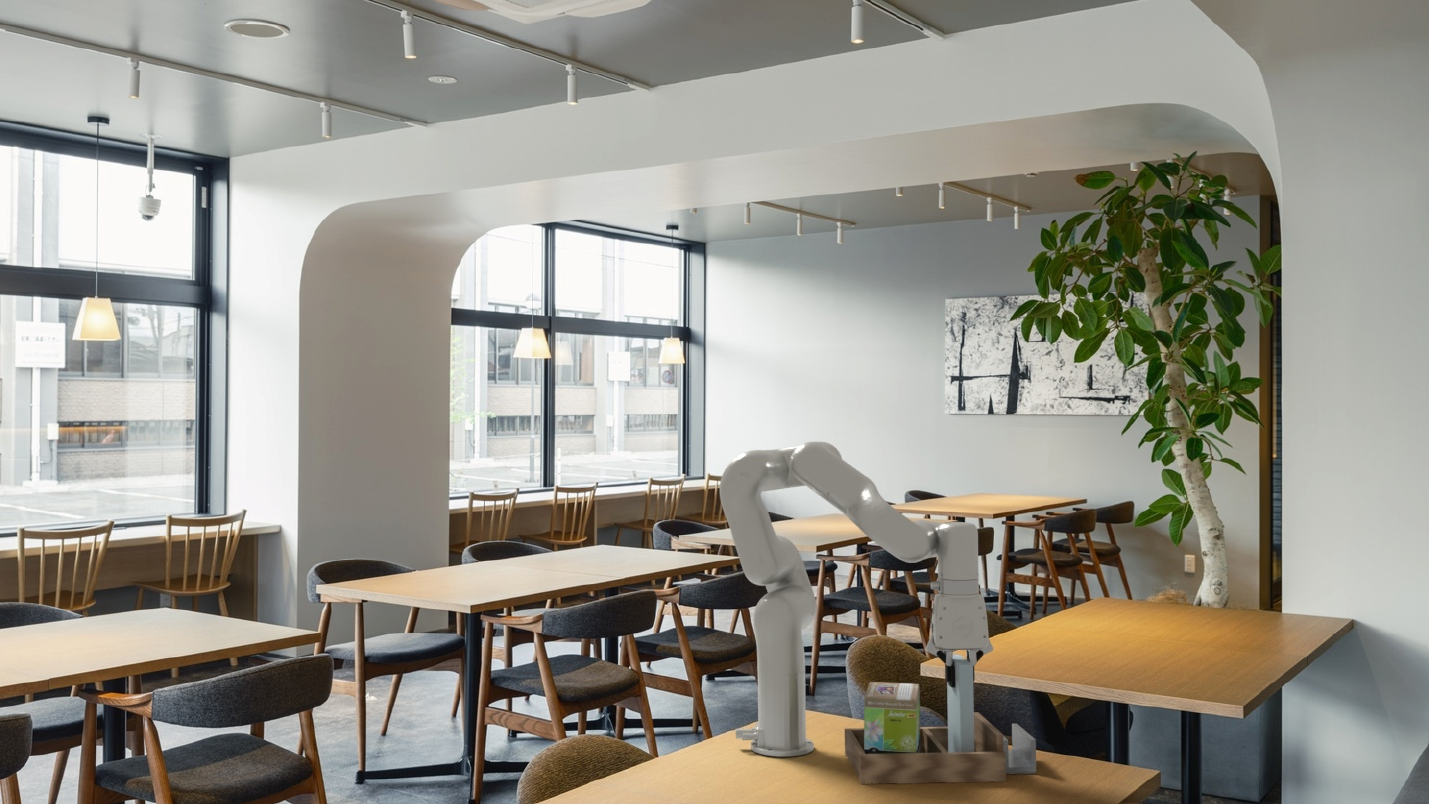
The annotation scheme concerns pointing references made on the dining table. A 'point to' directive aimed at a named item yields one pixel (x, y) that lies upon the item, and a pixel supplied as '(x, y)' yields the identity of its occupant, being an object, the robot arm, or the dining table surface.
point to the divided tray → (932, 758)
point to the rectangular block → (961, 707)
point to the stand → (1020, 752)
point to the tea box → (892, 718)
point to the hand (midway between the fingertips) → (959, 685)
